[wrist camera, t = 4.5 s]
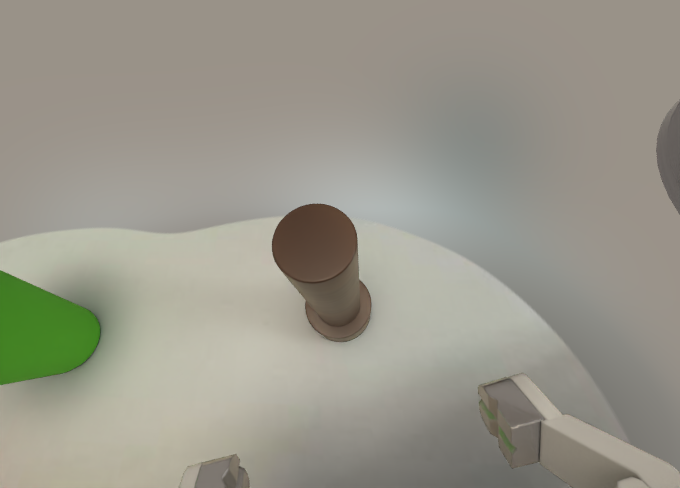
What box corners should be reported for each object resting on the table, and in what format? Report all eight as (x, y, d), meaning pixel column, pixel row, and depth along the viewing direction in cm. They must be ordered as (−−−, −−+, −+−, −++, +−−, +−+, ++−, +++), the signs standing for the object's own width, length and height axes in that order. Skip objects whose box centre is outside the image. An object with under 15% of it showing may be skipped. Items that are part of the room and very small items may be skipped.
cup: (20, 422, 24) (-233, 460, 14) (13, 314, 27) (-195, 281, 17) (134, 367, 25) (-24, 364, 15) (114, 269, 28) (-26, 213, 18)
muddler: (358, 274, 26) (354, 170, 13) (379, 330, 25) (399, 279, 11) (304, 293, 26) (238, 206, 12) (321, 350, 24) (266, 325, 11)
